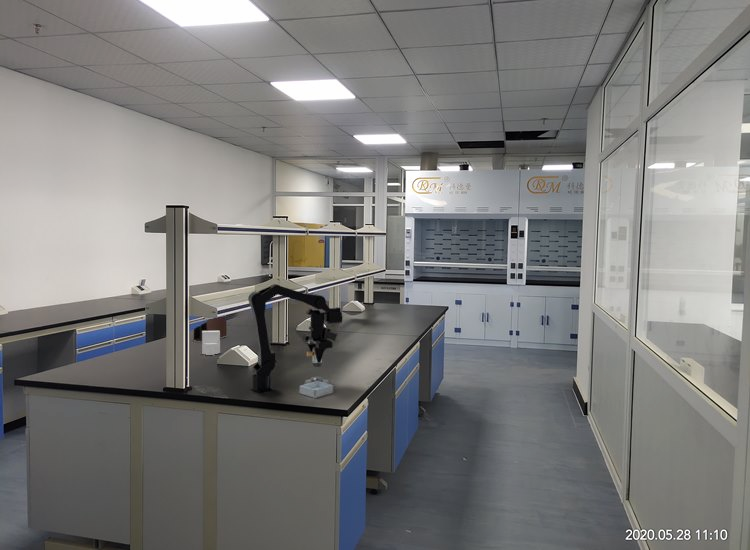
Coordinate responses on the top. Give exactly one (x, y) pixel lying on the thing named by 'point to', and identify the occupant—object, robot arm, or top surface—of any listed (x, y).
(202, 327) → the letter holder
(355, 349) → the top surface
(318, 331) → the robot arm
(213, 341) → the cylinder with rectangular tab
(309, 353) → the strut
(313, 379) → the mount
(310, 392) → the bin
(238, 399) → the top surface
